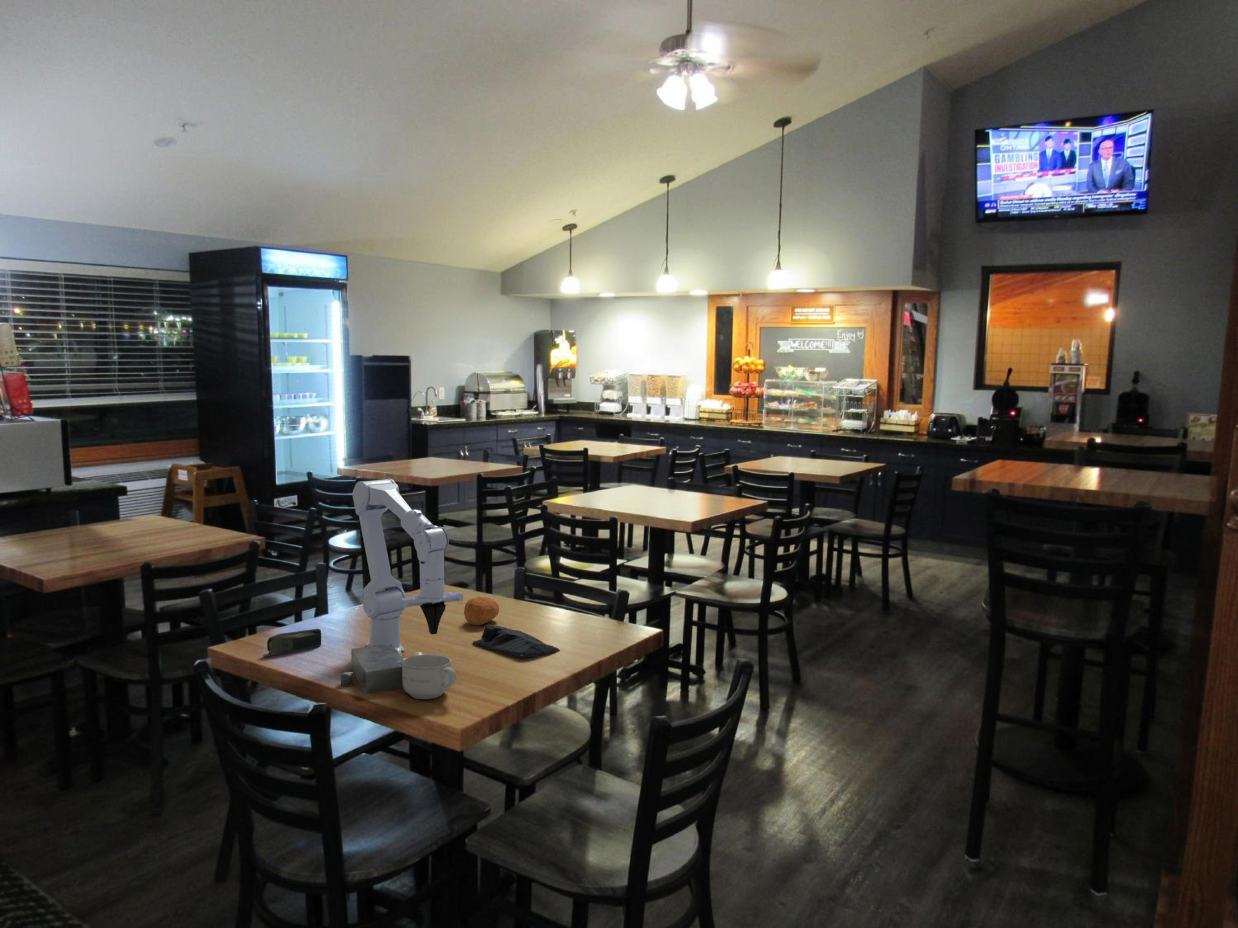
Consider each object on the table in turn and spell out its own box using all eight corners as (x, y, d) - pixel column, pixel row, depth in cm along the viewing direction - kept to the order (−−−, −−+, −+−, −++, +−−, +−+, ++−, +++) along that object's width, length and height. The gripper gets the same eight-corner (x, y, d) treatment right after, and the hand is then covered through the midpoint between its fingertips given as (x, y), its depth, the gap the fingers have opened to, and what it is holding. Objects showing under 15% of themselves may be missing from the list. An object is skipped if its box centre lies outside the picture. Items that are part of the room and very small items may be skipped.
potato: (455, 623, 243) (455, 598, 242) (484, 615, 252) (483, 590, 251) (478, 629, 237) (478, 603, 236) (506, 620, 246) (506, 595, 245)
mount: (351, 668, 205) (351, 648, 204) (391, 662, 209) (391, 643, 208) (366, 693, 189) (366, 671, 188) (409, 686, 193) (408, 665, 193)
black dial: (339, 682, 195) (339, 672, 195) (352, 681, 196) (352, 670, 196) (341, 686, 193) (341, 675, 192) (354, 685, 194) (354, 674, 194)
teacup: (393, 694, 189) (392, 659, 188) (435, 682, 196) (434, 648, 195) (426, 712, 179) (426, 675, 178) (469, 698, 186) (469, 663, 185)
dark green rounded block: (318, 626, 223) (260, 636, 213) (323, 628, 221) (264, 638, 211) (318, 644, 223) (260, 655, 213) (323, 647, 221) (265, 658, 211)
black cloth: (516, 665, 209) (516, 646, 209) (468, 644, 226) (468, 626, 225) (564, 652, 220) (564, 635, 219) (515, 633, 236) (515, 616, 235)
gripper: (406, 584, 197) (407, 641, 198) (466, 578, 204) (467, 633, 205) (398, 578, 203) (400, 633, 204) (457, 572, 210) (458, 625, 211)
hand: (433, 633), depth 205 cm, fingers closed
